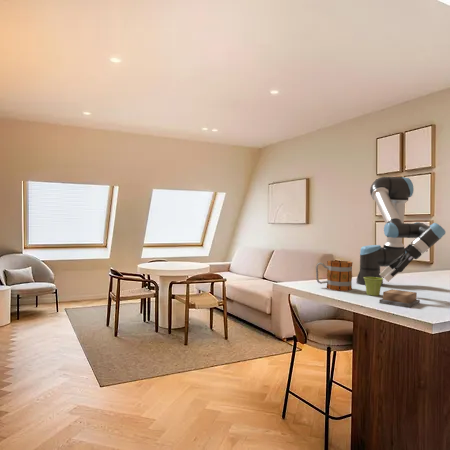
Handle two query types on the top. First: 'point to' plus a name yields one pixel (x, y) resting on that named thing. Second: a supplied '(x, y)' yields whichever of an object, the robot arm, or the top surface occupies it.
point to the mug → (337, 275)
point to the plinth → (399, 298)
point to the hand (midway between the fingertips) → (383, 278)
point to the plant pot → (373, 285)
